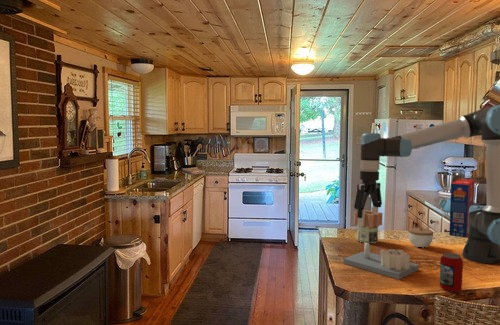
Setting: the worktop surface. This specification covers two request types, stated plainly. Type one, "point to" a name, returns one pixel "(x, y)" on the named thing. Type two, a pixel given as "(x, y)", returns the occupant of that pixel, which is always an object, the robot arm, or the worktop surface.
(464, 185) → the pasta box
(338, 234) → the worktop surface
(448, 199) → the teapot
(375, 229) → the coffee can
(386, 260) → the cream gear
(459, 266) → the beverage can
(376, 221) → the rust gear
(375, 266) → the gear board
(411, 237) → the lidded jar
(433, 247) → the worktop surface
